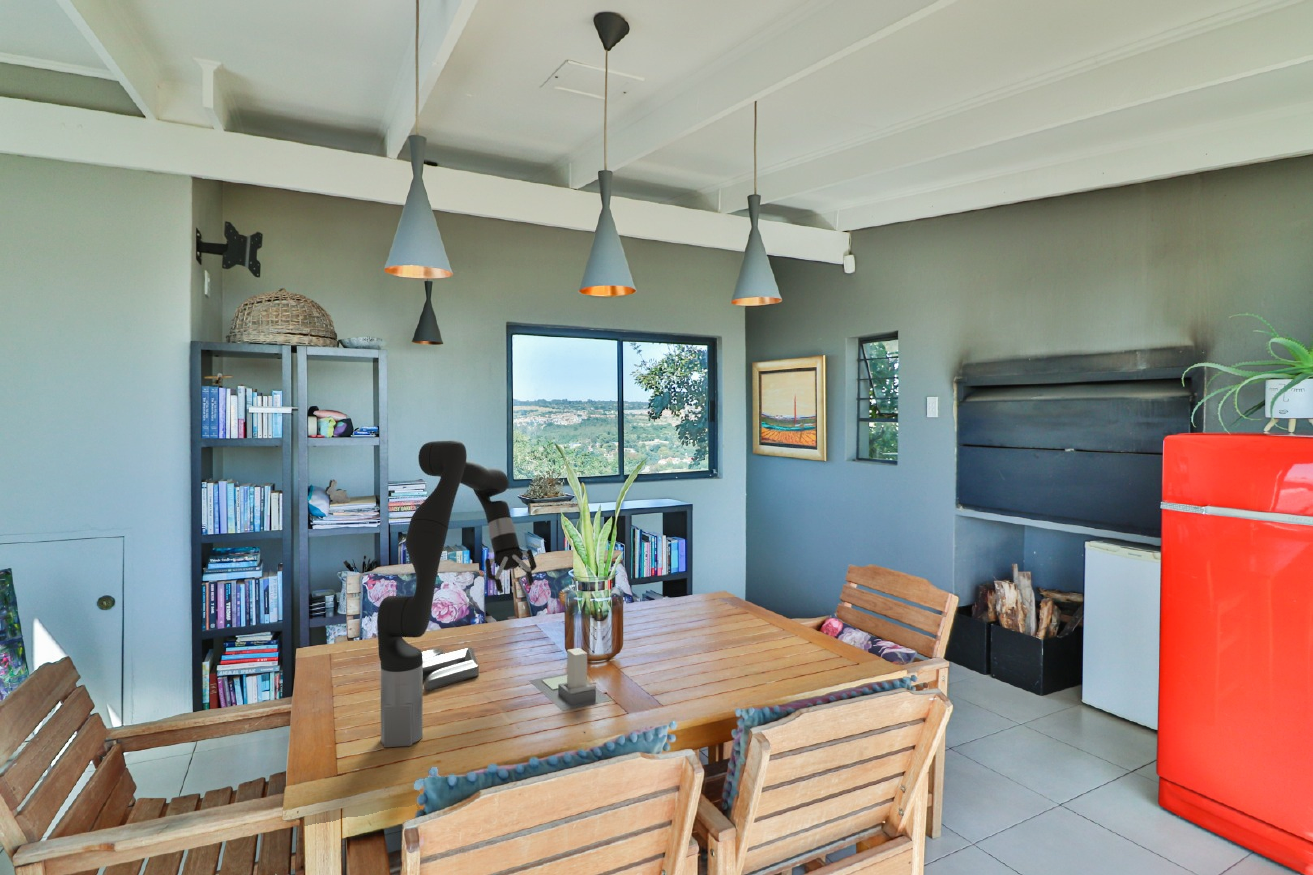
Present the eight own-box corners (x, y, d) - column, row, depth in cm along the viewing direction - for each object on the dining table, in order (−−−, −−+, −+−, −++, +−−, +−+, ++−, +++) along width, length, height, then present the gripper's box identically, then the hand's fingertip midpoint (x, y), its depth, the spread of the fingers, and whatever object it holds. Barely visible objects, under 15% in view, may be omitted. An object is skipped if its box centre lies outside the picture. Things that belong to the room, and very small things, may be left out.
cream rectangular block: (574, 700, 188) (574, 655, 188) (566, 694, 193) (567, 649, 192) (586, 698, 190) (587, 653, 190) (578, 691, 195) (579, 647, 194)
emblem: (415, 638, 227) (498, 645, 222) (415, 655, 227) (498, 662, 222) (361, 669, 200) (454, 677, 194) (362, 688, 200) (454, 697, 194)
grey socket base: (562, 715, 182) (563, 696, 182) (528, 684, 203) (528, 667, 202) (612, 704, 189) (612, 686, 189) (574, 675, 210) (574, 659, 210)
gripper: (480, 537, 207) (493, 592, 202) (528, 527, 213) (542, 580, 208) (477, 544, 214) (490, 597, 209) (524, 534, 220) (537, 586, 215)
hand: (516, 589), depth 209 cm, fingers open, 8 cm apart
